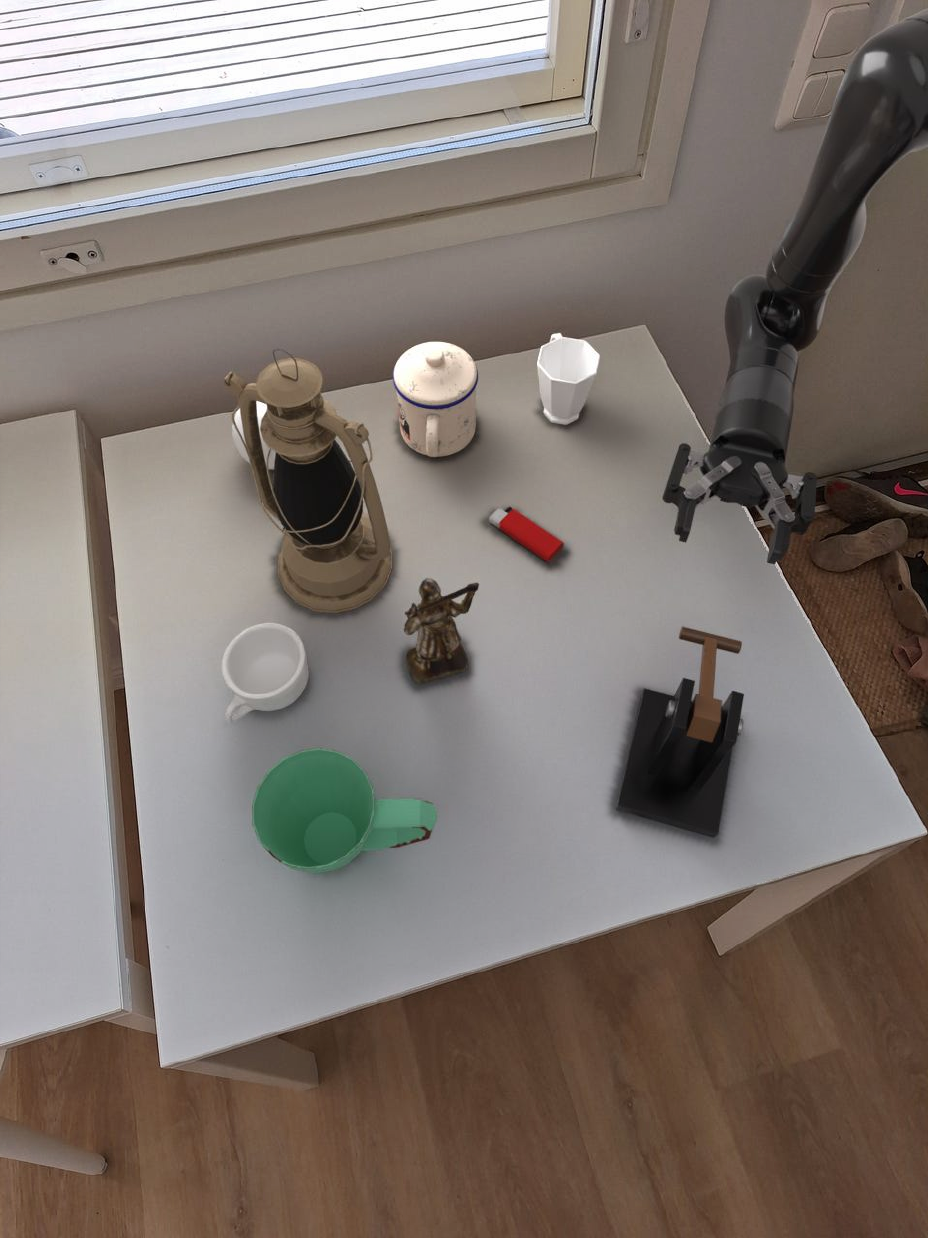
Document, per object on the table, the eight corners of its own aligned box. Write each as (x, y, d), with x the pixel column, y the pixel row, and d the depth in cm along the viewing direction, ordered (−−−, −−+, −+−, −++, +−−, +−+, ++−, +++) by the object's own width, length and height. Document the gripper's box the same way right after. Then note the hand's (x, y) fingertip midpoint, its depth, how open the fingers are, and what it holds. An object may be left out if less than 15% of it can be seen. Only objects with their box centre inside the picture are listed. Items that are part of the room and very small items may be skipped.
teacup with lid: (402, 397, 104) (394, 320, 93) (479, 399, 103) (480, 323, 93) (392, 479, 98) (383, 406, 88) (474, 482, 98) (475, 410, 87)
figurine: (474, 633, 89) (475, 552, 76) (486, 666, 87) (489, 589, 74) (403, 653, 88) (391, 573, 75) (413, 686, 86) (403, 611, 73)
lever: (677, 638, 83) (684, 618, 81) (736, 653, 82) (744, 633, 80) (665, 730, 72) (673, 709, 71) (732, 748, 72) (741, 727, 70)
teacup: (268, 635, 89) (256, 609, 84) (330, 671, 87) (322, 647, 82) (204, 714, 85) (188, 691, 80) (267, 754, 83) (255, 733, 78)
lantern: (245, 579, 92) (155, 370, 66) (305, 496, 97) (243, 271, 71) (367, 634, 89) (323, 437, 62) (422, 546, 94) (403, 329, 67)
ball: (289, 494, 97) (274, 447, 90) (227, 469, 99) (208, 421, 92) (325, 442, 101) (314, 393, 93) (265, 419, 102) (249, 369, 95)
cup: (538, 437, 101) (543, 387, 94) (521, 373, 105) (524, 321, 98) (598, 429, 101) (608, 378, 94) (578, 365, 106) (586, 313, 99)
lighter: (547, 558, 91) (488, 516, 94) (546, 564, 93) (487, 523, 95) (564, 540, 92) (504, 500, 95) (563, 547, 94) (504, 507, 96)
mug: (269, 895, 77) (243, 868, 68) (282, 785, 81) (259, 747, 72) (438, 897, 76) (434, 870, 68) (441, 787, 81) (437, 749, 72)
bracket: (641, 693, 85) (667, 631, 74) (734, 718, 84) (775, 659, 73) (615, 809, 80) (639, 762, 69) (714, 838, 79) (755, 794, 67)
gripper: (692, 381, 89) (662, 507, 82) (835, 413, 87) (818, 545, 80) (677, 431, 96) (647, 551, 89) (810, 461, 94) (791, 587, 86)
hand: (728, 548), depth 84 cm, fingers open, 8 cm apart
